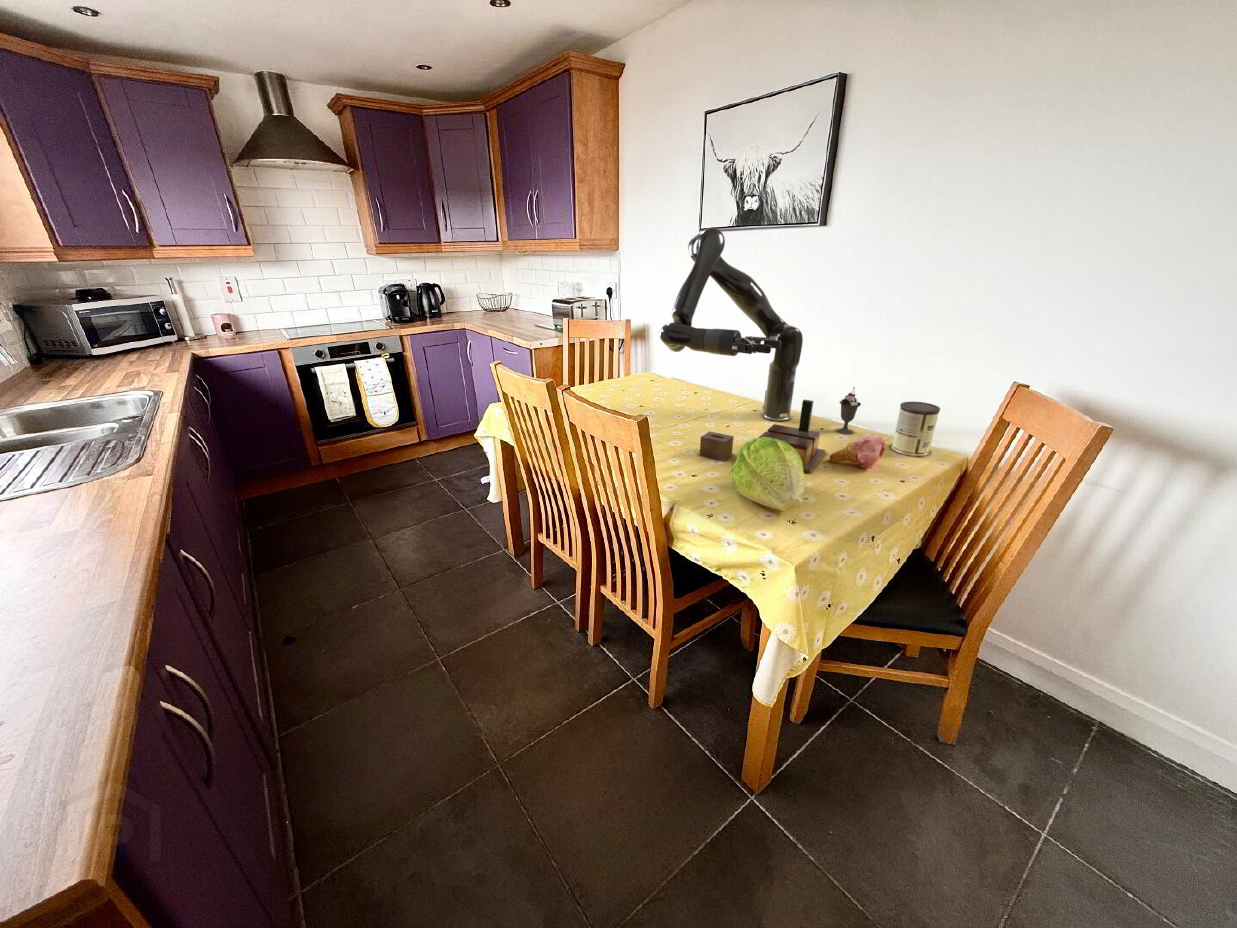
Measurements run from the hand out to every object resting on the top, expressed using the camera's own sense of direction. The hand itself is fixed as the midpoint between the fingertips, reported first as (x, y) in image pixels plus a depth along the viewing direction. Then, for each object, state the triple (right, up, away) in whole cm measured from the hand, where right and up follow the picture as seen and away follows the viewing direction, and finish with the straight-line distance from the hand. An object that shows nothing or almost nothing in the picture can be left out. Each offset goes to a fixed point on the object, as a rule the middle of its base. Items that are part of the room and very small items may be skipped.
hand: (775, 347), depth 141 cm
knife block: (-15, -30, +11) cm, 36 cm away
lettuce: (-7, -42, -17) cm, 46 cm away
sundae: (+33, -22, +29) cm, 49 cm away
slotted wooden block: (+6, -31, +9) cm, 33 cm away
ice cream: (+24, -34, +2) cm, 42 cm away
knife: (+9, -31, +6) cm, 33 cm away
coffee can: (+45, -29, +13) cm, 55 cm away
